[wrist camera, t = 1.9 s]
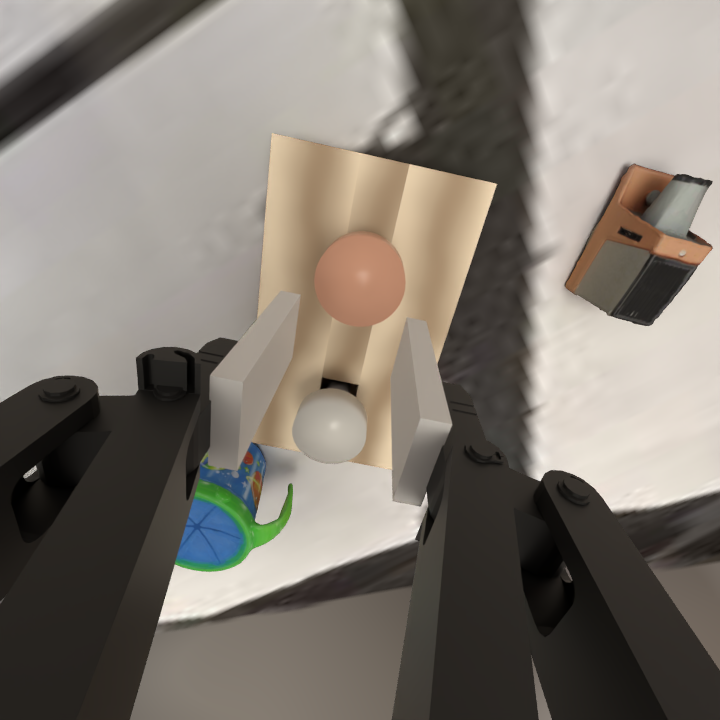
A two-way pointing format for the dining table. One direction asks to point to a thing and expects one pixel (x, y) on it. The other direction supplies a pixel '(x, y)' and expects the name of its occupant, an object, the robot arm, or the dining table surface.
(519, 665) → the robot arm
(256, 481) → the snack cup
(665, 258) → the electronic device
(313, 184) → the switch box
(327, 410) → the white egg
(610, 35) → the dining table surface
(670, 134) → the dining table surface
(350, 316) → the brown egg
